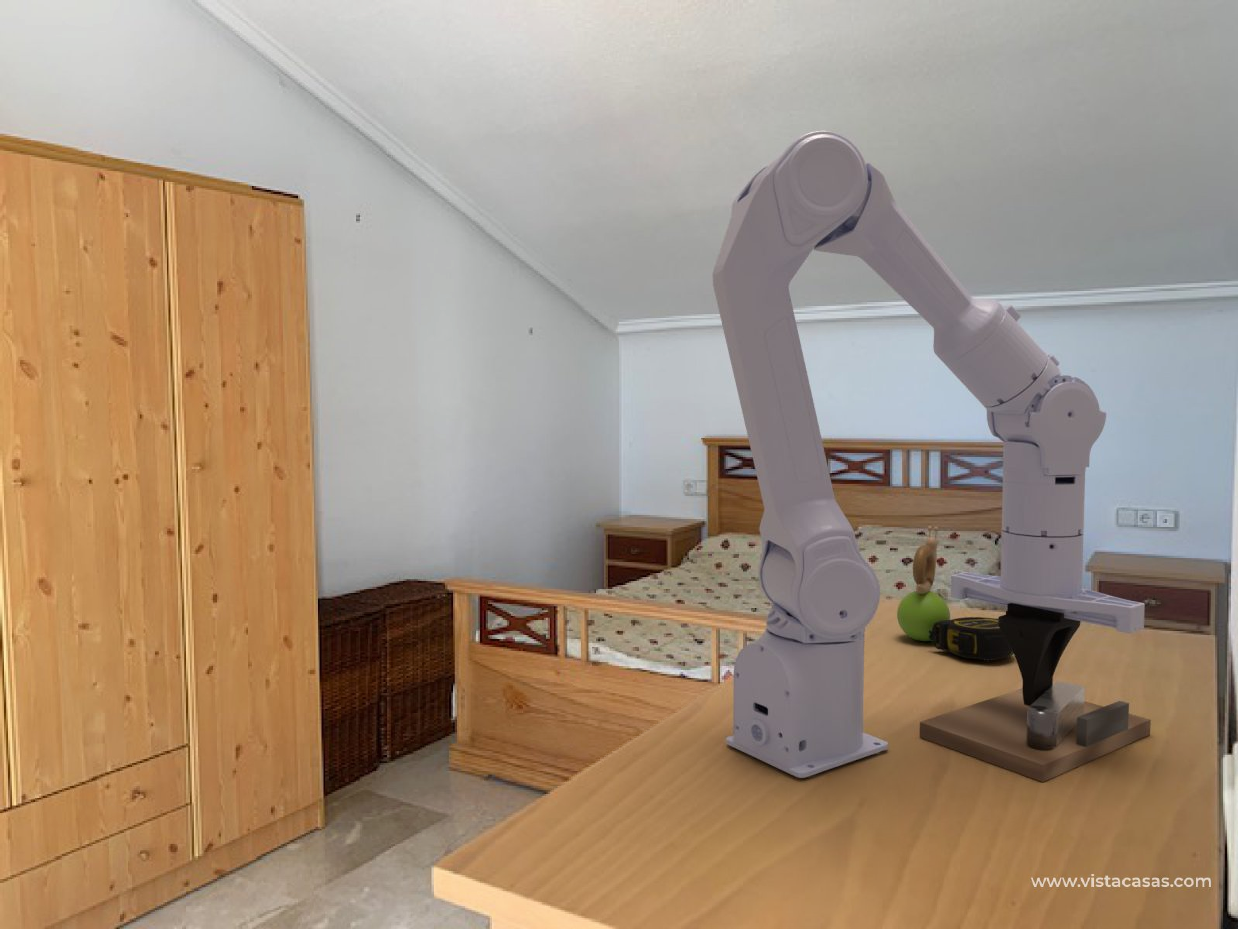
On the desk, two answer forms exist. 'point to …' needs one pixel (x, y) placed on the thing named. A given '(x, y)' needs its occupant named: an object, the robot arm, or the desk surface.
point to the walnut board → (1003, 729)
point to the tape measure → (971, 638)
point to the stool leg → (1054, 715)
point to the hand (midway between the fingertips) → (1037, 704)
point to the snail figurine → (923, 595)
